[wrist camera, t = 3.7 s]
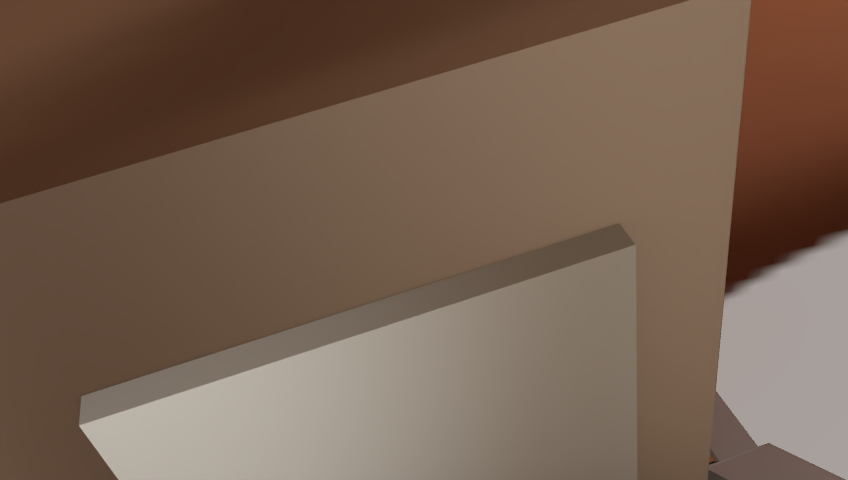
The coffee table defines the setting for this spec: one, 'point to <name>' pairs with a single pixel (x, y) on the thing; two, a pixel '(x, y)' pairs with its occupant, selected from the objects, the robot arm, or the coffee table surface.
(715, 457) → the robot arm
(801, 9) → the coffee table surface
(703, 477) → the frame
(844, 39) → the coffee table surface
